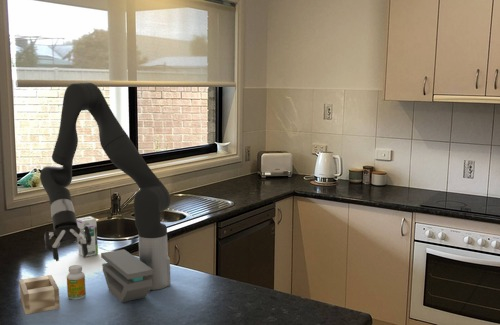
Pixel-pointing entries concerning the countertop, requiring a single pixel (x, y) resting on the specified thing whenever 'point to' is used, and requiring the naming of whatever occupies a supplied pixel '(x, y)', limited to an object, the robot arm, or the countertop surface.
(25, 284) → the post socket
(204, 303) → the countertop surface
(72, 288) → the supplement bottle
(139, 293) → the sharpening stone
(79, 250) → the syrup box
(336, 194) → the countertop surface
